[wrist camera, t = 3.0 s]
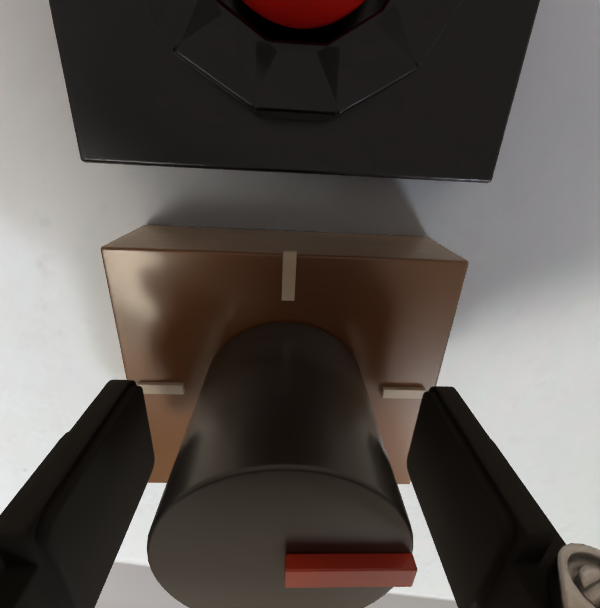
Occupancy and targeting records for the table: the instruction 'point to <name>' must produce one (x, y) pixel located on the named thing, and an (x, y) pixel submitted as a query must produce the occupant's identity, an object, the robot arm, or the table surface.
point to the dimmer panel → (280, 314)
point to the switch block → (295, 86)
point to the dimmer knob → (282, 483)
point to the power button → (303, 11)
